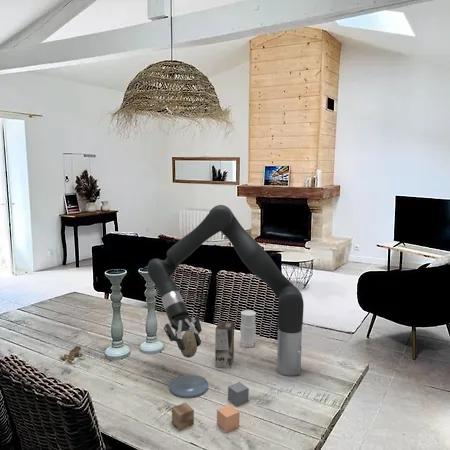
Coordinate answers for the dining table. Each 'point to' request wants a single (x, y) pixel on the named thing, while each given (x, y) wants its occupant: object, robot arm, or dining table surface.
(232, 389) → the charcoal block
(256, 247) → the robot arm
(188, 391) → the round blue platter
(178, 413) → the walnut block
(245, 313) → the candle
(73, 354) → the frog figurine
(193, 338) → the decorative egg
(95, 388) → the dining table surface
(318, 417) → the dining table surface
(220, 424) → the terracotta block
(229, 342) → the coffee box
